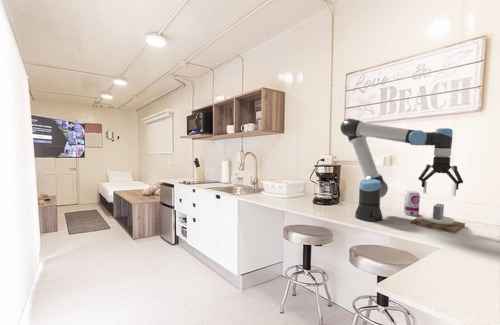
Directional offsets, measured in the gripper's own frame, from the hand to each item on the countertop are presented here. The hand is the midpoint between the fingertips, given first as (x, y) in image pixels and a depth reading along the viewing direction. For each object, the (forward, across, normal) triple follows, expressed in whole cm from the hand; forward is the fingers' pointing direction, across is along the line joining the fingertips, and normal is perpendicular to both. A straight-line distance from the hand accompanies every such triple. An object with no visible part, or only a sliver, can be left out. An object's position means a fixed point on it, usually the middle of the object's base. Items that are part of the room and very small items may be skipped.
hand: (438, 194), depth 141 cm
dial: (+15, -1, 0) cm, 15 cm away
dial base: (+18, -1, 0) cm, 18 cm away
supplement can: (+18, +8, -21) cm, 29 cm away
